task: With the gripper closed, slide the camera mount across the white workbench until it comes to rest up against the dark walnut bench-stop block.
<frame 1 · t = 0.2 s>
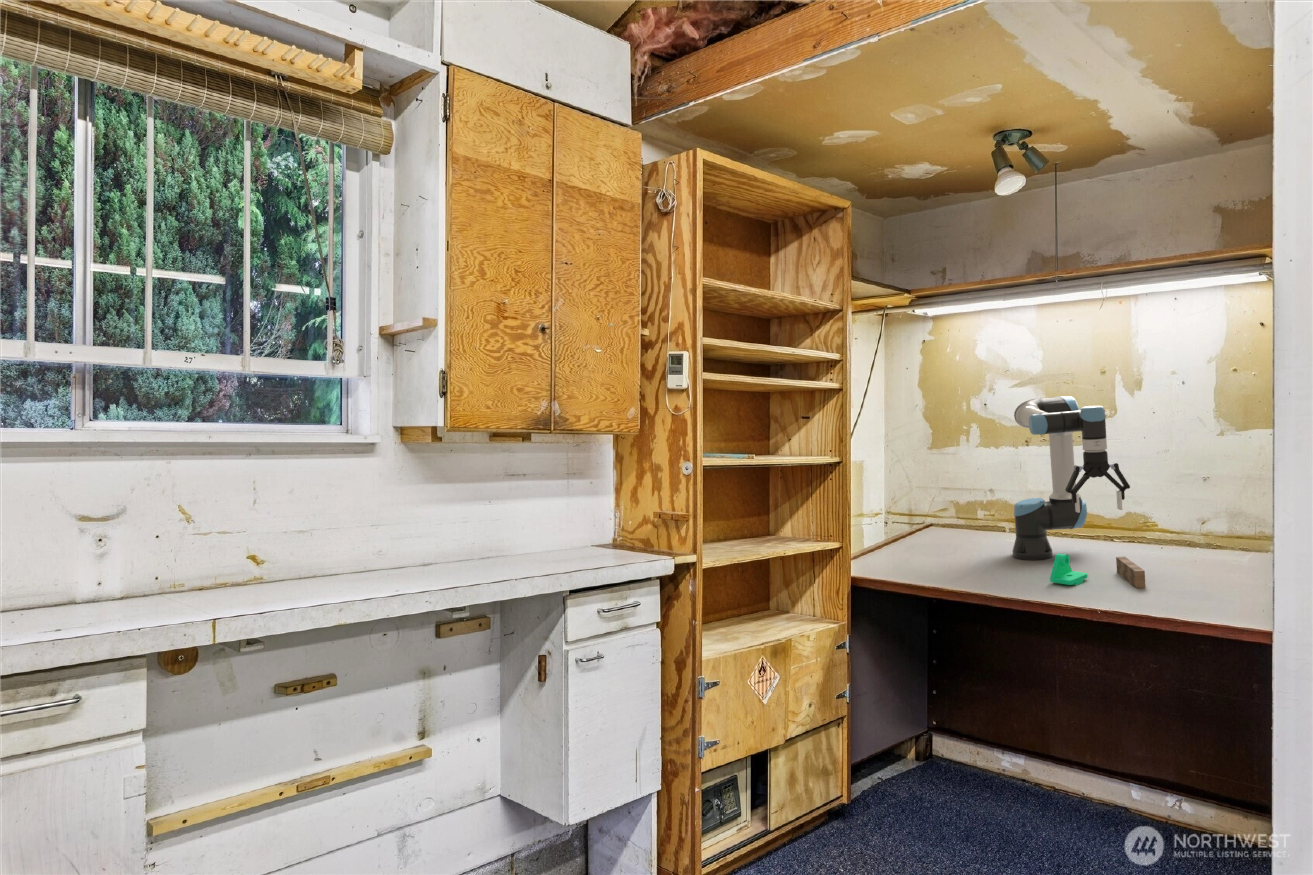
hand: (1098, 510, 291), 28 cm above the table, fingers open, 13 cm apart
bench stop: (1130, 580, 298), on the table
camera mount: (1069, 583, 304), on the table
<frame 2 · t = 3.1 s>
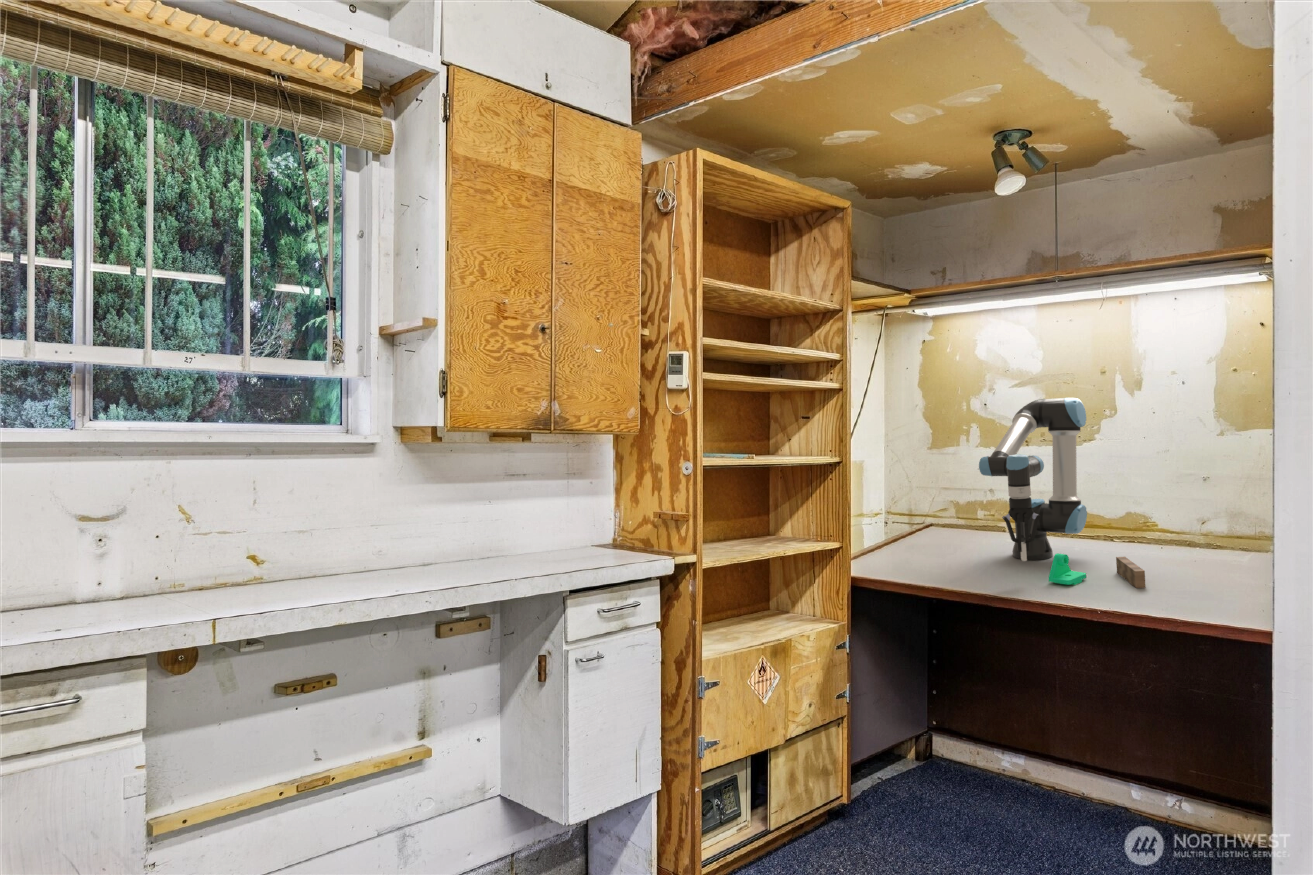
hand: (1023, 560, 306), 9 cm above the table, fingers closed
nothing on the table moved.
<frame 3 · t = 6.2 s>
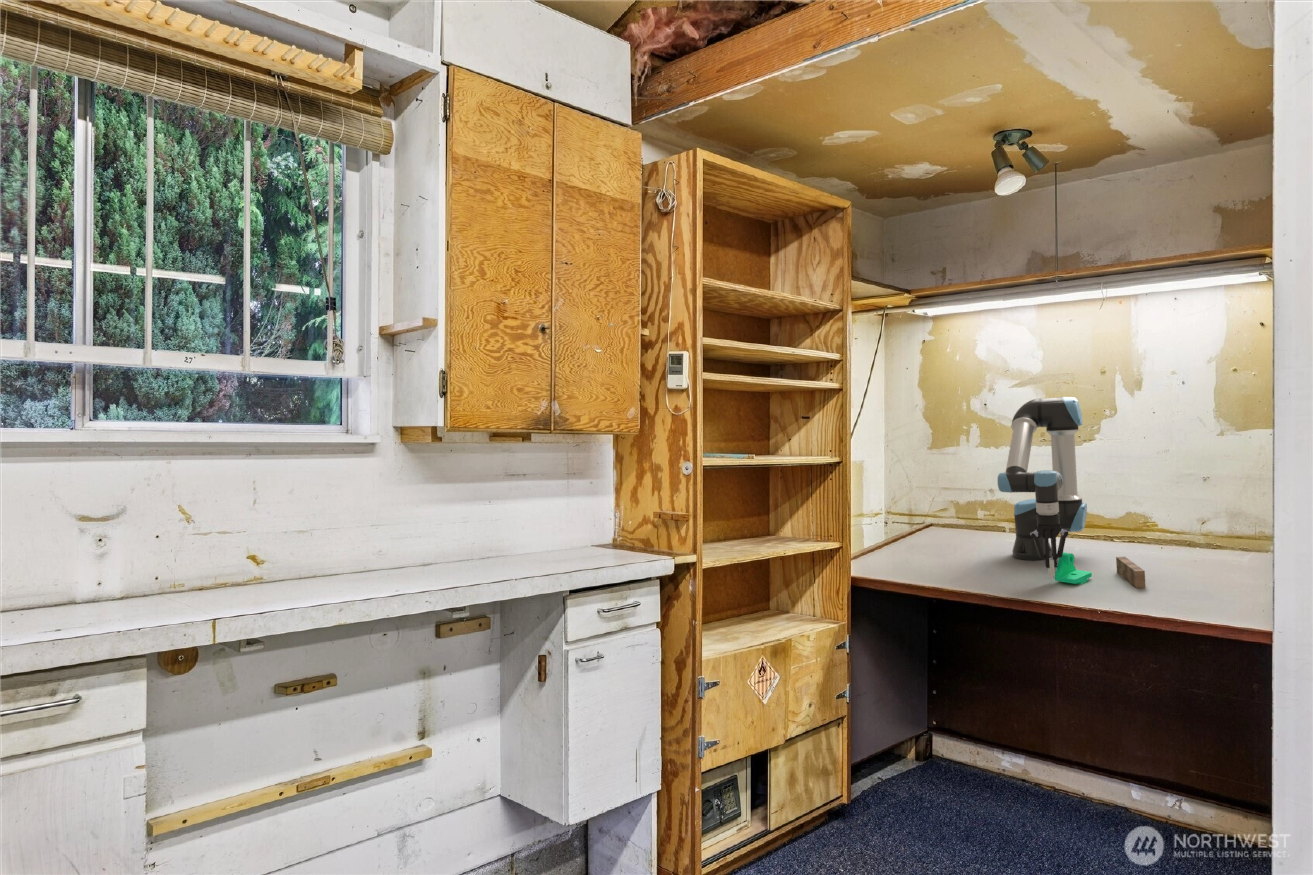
hand: (1051, 576, 305), 2 cm above the table, fingers closed
camera mount: (1074, 581, 304), on the table, touching gripper
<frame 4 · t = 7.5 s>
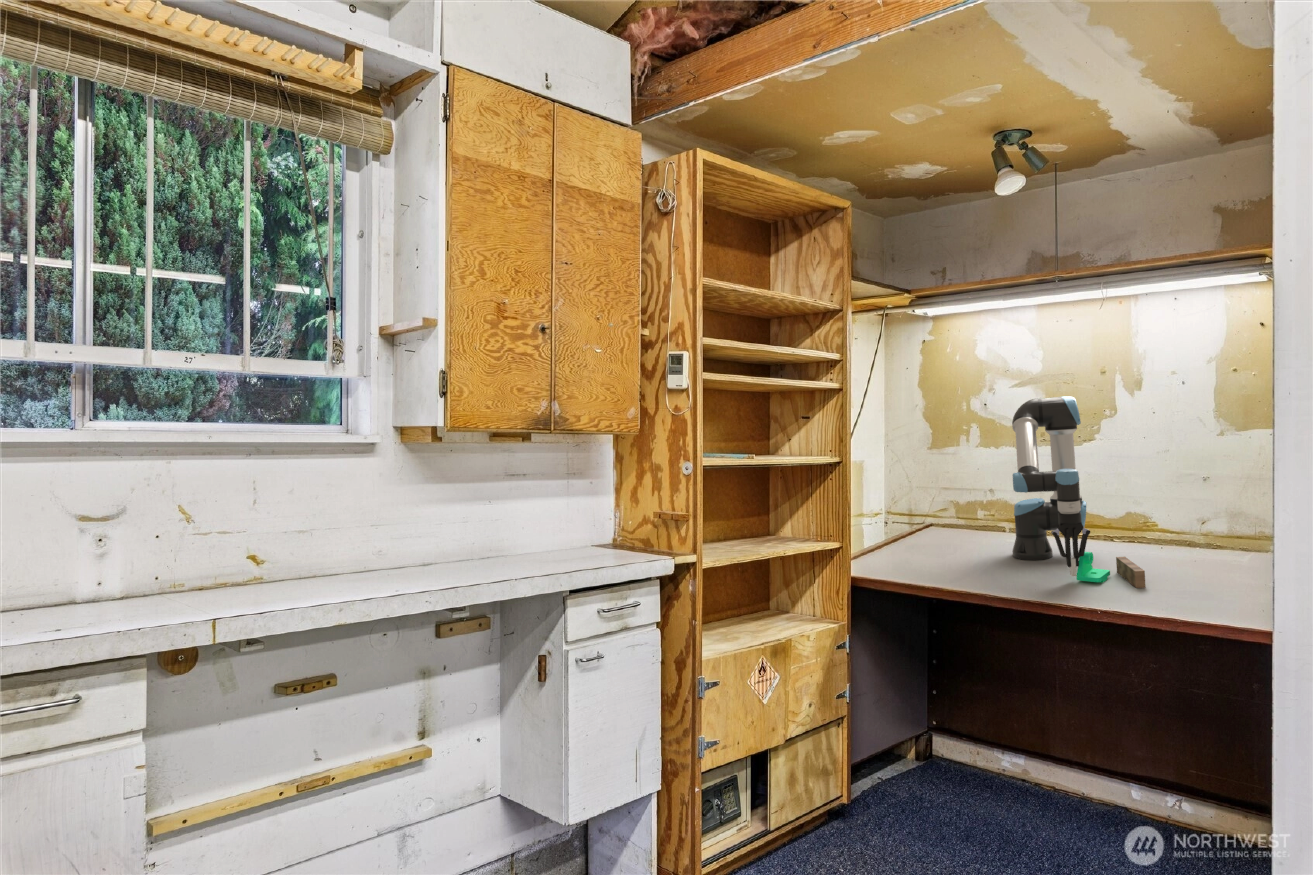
hand: (1073, 575, 303), 2 cm above the table, fingers closed
camera mount: (1094, 580, 303), on the table, touching gripper
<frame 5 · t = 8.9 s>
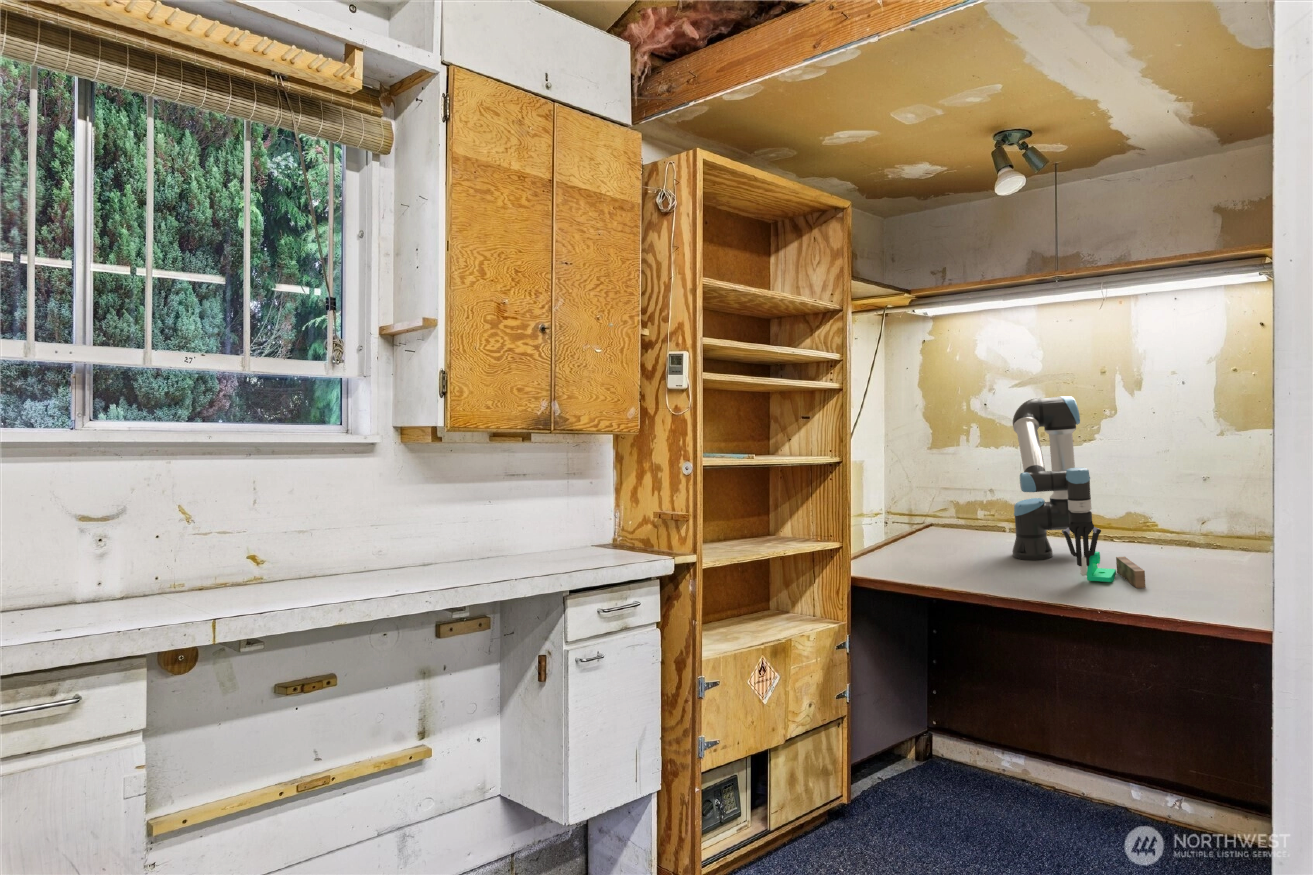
hand: (1083, 574, 302), 3 cm above the table, fingers closed
camera mount: (1102, 580, 302), on the table, touching gripper, hand
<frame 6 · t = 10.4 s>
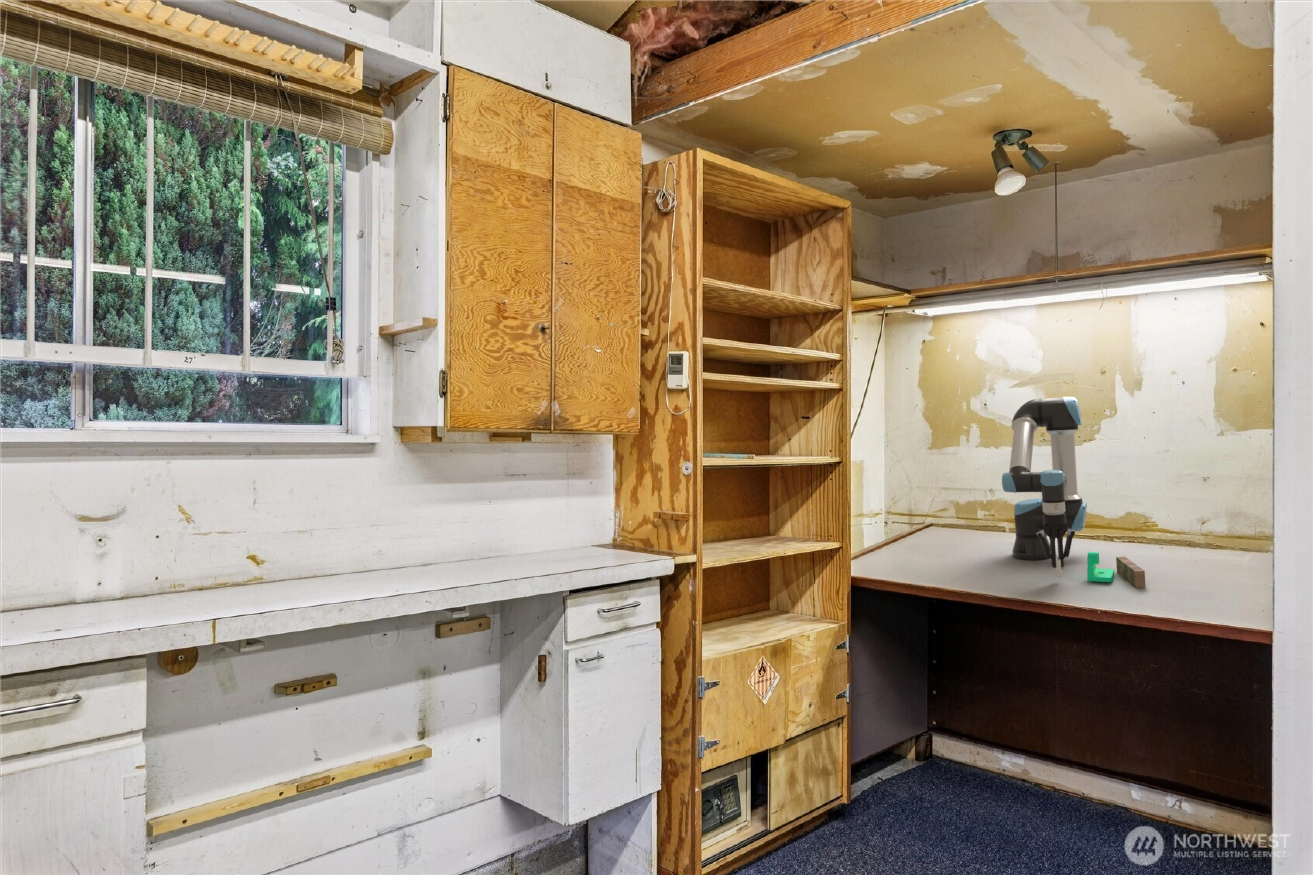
hand: (1058, 576, 304), 2 cm above the table, fingers closed
camera mount: (1101, 580, 303), on the table
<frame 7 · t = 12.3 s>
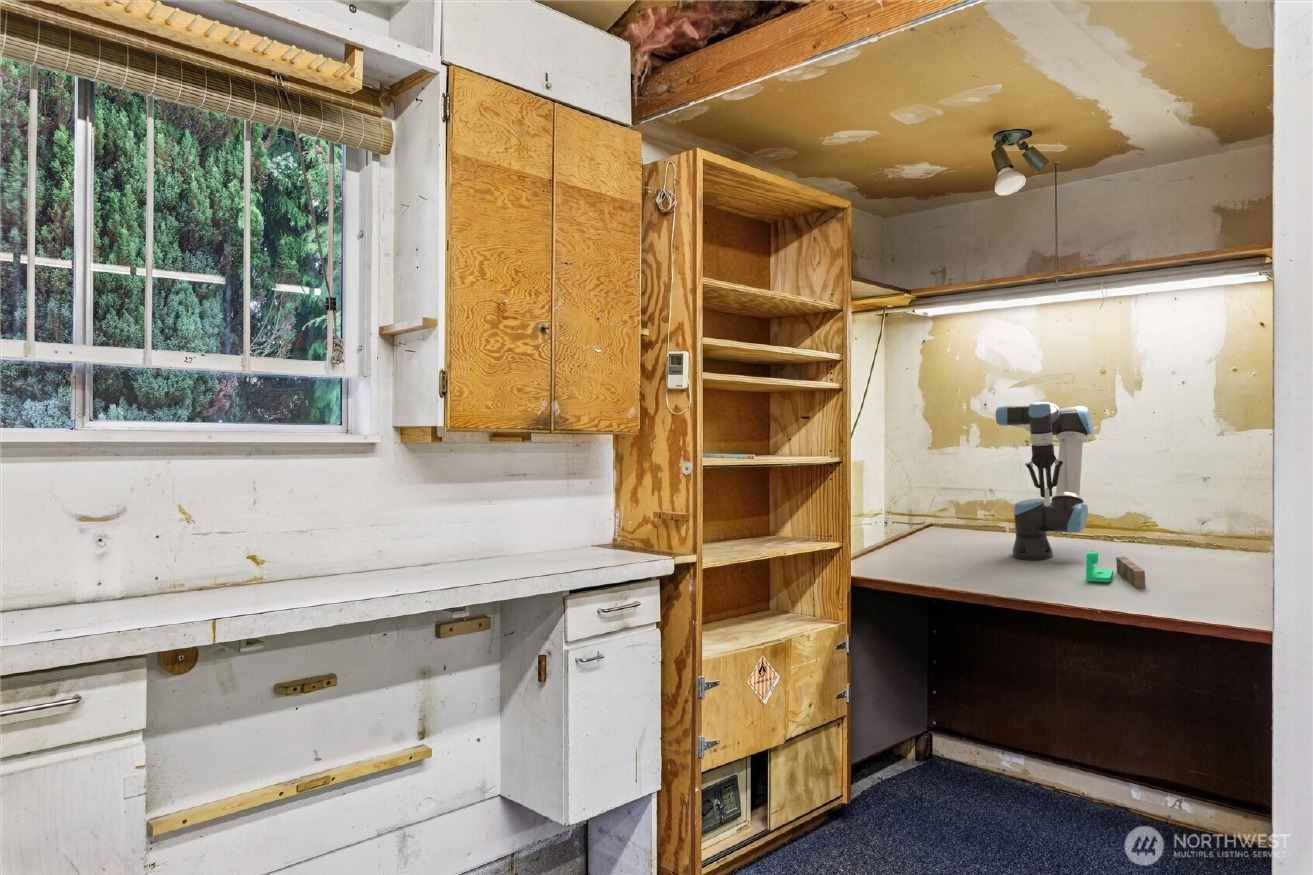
hand: (1047, 505, 313), 27 cm above the table, fingers closed
nothing on the table moved.
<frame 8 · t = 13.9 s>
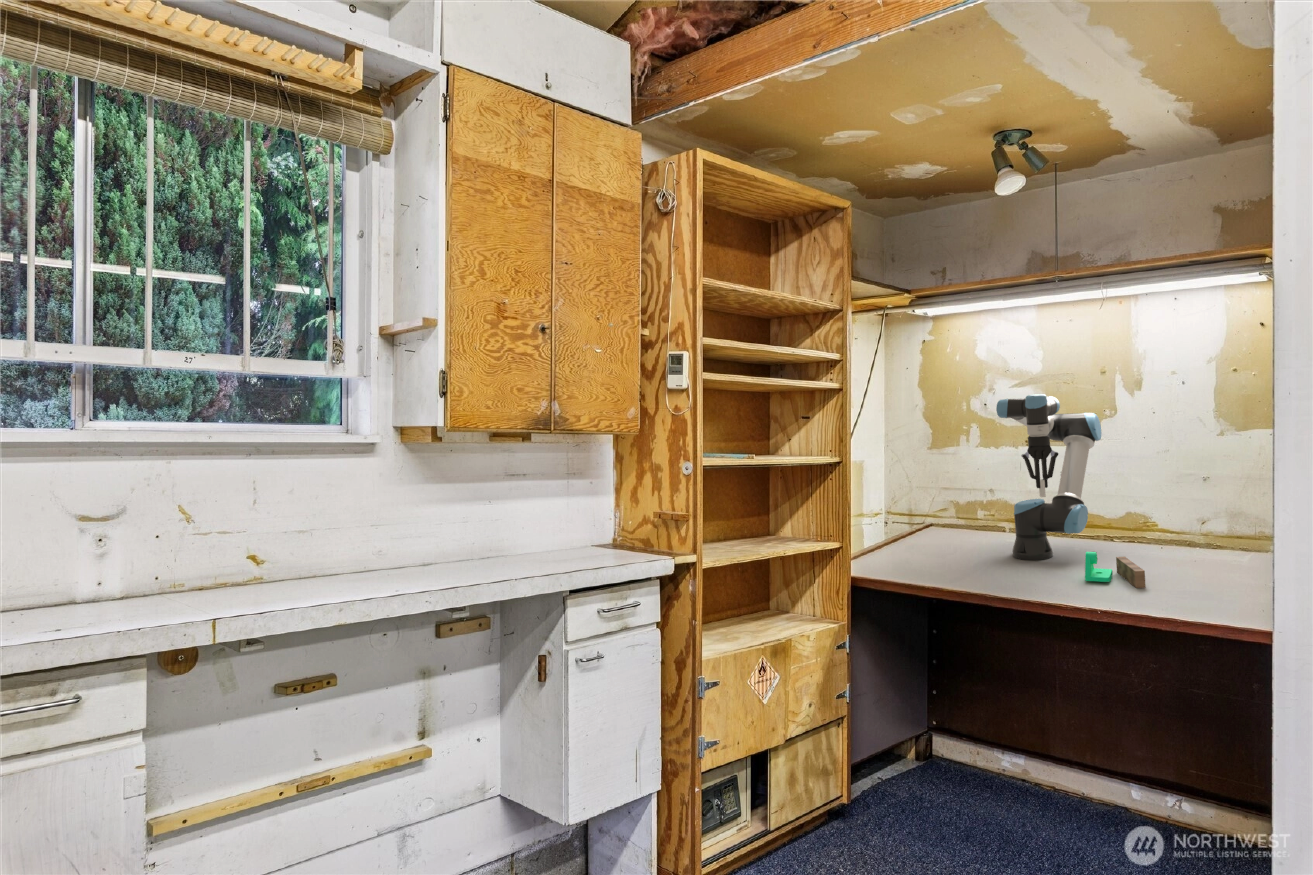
hand: (1042, 496, 316), 29 cm above the table, fingers closed
nothing on the table moved.
at the end: camera mount inside the target area (2.8 cm from its centre), on the table; camera mount moved 10.6 cm from its start; camera mount tilted 0° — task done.
